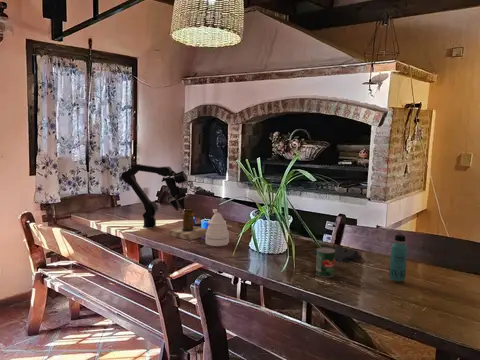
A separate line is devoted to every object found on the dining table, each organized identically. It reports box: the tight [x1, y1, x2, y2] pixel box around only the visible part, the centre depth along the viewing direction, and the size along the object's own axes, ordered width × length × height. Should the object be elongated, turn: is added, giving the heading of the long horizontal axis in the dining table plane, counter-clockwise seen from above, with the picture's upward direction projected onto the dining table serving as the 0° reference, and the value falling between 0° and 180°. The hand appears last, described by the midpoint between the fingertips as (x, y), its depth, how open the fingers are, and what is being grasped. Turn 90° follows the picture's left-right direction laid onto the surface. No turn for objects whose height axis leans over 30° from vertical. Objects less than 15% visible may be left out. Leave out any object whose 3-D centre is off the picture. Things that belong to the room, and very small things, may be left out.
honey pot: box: [205, 209, 230, 247], centre depth 227 cm, size 13×13×18 cm
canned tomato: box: [315, 247, 336, 278], centre depth 181 cm, size 8×8×11 cm
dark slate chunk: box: [311, 244, 361, 264], centre depth 209 cm, size 15×22×5 cm
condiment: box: [181, 208, 195, 232], centre depth 241 cm, size 7×8×12 cm
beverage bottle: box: [388, 234, 409, 282], centre depth 173 cm, size 6×7×20 cm
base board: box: [169, 226, 208, 241], centre depth 243 cm, size 16×16×3 cm
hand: (180, 210), depth 257 cm, fingers open, 9 cm apart
